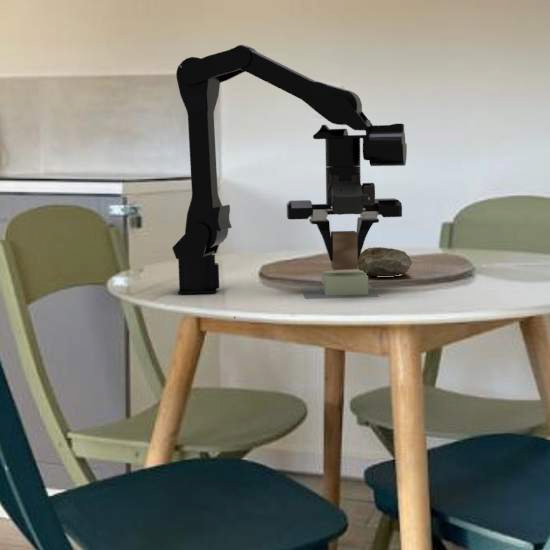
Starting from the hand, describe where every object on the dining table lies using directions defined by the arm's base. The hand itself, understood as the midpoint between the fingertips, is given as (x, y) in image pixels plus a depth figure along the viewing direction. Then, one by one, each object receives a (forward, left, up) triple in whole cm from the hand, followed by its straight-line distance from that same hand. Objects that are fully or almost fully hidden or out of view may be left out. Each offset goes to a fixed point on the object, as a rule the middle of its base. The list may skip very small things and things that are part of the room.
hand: (344, 260), depth 156 cm
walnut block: (0, 0, -1) cm, 1 cm away
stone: (+10, +18, -6) cm, 21 cm away
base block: (0, 0, -5) cm, 5 cm away
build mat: (-1, 0, -6) cm, 6 cm away
